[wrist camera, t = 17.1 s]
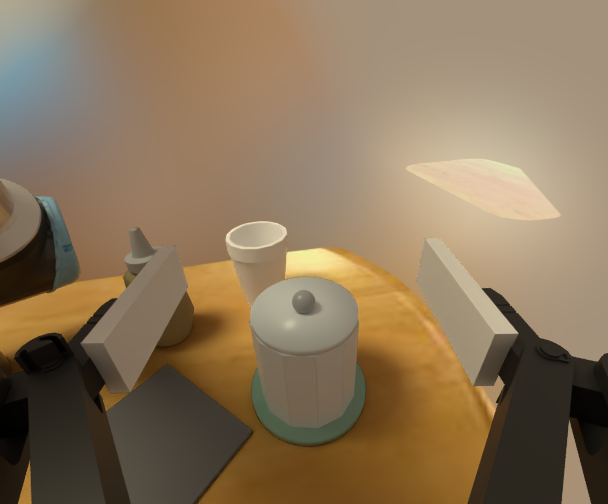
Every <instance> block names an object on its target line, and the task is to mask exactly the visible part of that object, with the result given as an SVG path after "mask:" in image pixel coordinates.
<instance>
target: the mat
mask: <svg viewBox="0 0 608 504" xmlns="http://www.w3.org/2000/svg"><path fill="white" fill-rule="evenodd" d="M106 414H107V417H108V421H109V425H110V428H111V432H112V436H113V439H114V443H115V447H116V450H117V454H118V458H119V461H120V465H121V469H122V472H123V476H124V480H125V483H126V487H127V491H128V495H129V498H130V502H131V504H195V503H196V501H197V500H198V499H199V498H200V497H201V495H202V494H203V493H204V492H205V490H206V489H207V488H208V487H209V485H210V484H211V483H212V482H213V480H214V479H215V478H216V477H217V476H218V474H219V473H220V472H221V471H222V469H223V468H224V467H225V466H226V464H227V463H228V462H229V461H230V460H231V458H232V457H233V456H234V455H235V453H236V452H237V451H238V450H239V448H240V447H241V446H242V445H243V443H244V442H245V441H246V440H247V439H248V437H249V436H250V435H251V434H252V432H253V431H252V429H250V428H249V427H248V426H246V425H245V424H244V423H243V422H241V421H240V420H239V419H237V418H236V417H235V416H234V415H232V414H231V413H230V412H229V411H227V410H226V409H225V408H223V407H222V406H221V405H220V404H218V403H217V402H216V401H214V400H213V399H212V398H211V397H209V396H208V395H207V394H206V393H204V392H203V391H202V390H200V389H199V388H198V387H197V386H195V385H194V384H193V383H191V382H190V381H189V380H188V379H186V378H185V377H184V376H182V375H181V374H180V373H179V372H177V371H176V370H175V369H174V368H172V367H171V366H170V365H168V364H167V365H165V366H164V367H163V368H162V369H160V370H159V371H158V372H156V373H155V374H154V375H153V376H151V377H150V378H149V379H147V380H146V381H145V382H144V383H142V384H141V385H140V386H138V387H137V388H136V389H135V390H133V391H132V392H131V393H129V394H128V395H127V396H126V397H124V398H123V399H122V400H120V401H119V402H118V403H117V404H115V405H114V406H113V407H112V408H110V409H109V410H108V411H106Z"/></svg>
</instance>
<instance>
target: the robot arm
mask: <svg viewBox="0 0 608 504" xmlns="http://www.w3.org/2000/svg"><path fill="white" fill-rule="evenodd" d="M80 274H81V269H80V265H79V262H78V259H77V256H76V253H75V250H74V248H73V246H72V242H71V239H70V236H69V233H68V230H67V228H66V224H65V222H64V220H63V216H62V214H61V211H60V209H59V206H58V204H57V202H56V200H55V199H54V198H52V197H48V196H46V197H41V196H37V197H33V196H32V195H31V193H30V192H28V191H27V190H26V189H25V188H23V187H21V186H19V185H18V184H15V183H13V182H11V181H8V180H4V179H1V178H0V308H1V307H4V306H7V305H10V304H13V303H16V302H19V301H22V300H25V299H28V298H31V297H34V296H37V295H40V294H43V293H51V292H54V291H55V290H56V289H58V288H61V287H63V286H66V285H69V284H71V283H73V282H75V281H76V280H77V279H78V278H79V277H80ZM416 281H417V283H418V285H419V287H420V289H421V291H422V292H423V294H424V296H425V298H426V300H427V302H428V303H429V305H430V307H431V309H432V311H433V313H434V314H435V316H436V318H437V320H438V322H439V324H440V326H441V327H442V329H443V331H444V333H445V335H446V337H447V339H448V340H449V342H450V344H451V346H452V348H453V350H454V352H455V353H456V355H457V357H458V359H459V361H460V363H461V364H462V366H463V368H464V370H465V372H466V374H467V376H468V377H469V379H470V381H471V383H472V385H473V386H494V384H495V382H496V379H497V377H498V375H499V376H500V378H501V379H502V381H503V382H504V384H505V385H504V387H503V389H502V391H501V393H500V395H499V397H498V399H497V401H496V403H498V405H497V408H496V412H495V415H494V418H493V421H492V425H491V428H490V431H489V435H488V438H487V441H486V444H485V448H484V451H483V454H482V458H481V461H480V464H479V468H478V471H477V474H476V477H475V481H474V484H473V487H472V491H471V494H470V497H469V500H468V504H561V501H562V491H563V479H564V468H565V458H566V447H567V436H568V424H569V420H570V423H571V427H572V431H573V435H574V439H575V442H576V447H577V451H578V454H579V458H580V462H581V466H582V470H583V474H584V478H585V481H586V485H587V489H588V493H589V497H590V501H591V504H608V353H607V354H604V355H603V356H602V357H601V358H600V360H599V361H598V362H596V361H591V360H586V359H582V358H576V357H573V356H571V355H570V354H569V352H568V351H567V350H565V349H564V348H563V347H561V346H560V345H558V344H556V343H554V342H551V341H549V340H545V339H541V338H539V337H538V335H537V334H536V333H535V332H534V331H533V330H532V329H531V328H530V326H528V324H527V323H526V322H525V321H524V320H523V319H522V317H521V316H520V315H519V314H518V313H516V311H515V310H514V308H512V306H510V304H509V303H508V302H507V301H506V300H505V298H504V297H503V296H502V295H500V294H499V293H497V292H495V291H494V290H493V289H491V288H480V287H479V285H478V284H477V283H476V281H475V280H474V279H473V278H472V277H471V275H470V274H469V273H468V272H467V271H466V269H465V268H464V267H463V266H462V265H461V263H460V262H459V261H458V260H457V258H456V257H455V256H454V255H453V254H452V252H451V251H450V250H449V249H448V248H447V247H446V245H445V244H444V243H443V242H442V240H441V239H440V238H425V240H424V245H423V251H422V255H421V260H420V265H419V270H418V275H417V280H416ZM187 288H188V285H187V281H186V278H185V275H184V271H183V268H182V264H181V262H180V258H179V255H178V251H177V248H176V246H161V247H160V248H159V250H158V251H157V252H156V253H155V254H154V256H153V257H152V258H151V259H150V260H149V262H148V263H147V264H146V265H145V266H144V268H143V269H142V270H141V271H140V273H139V274H138V275H137V276H136V277H135V279H134V280H133V281H132V282H131V283H130V285H129V286H128V287H127V288H126V289H125V291H124V292H123V293H122V294H121V295H120V297H119V298H113V299H111V300H109V301H108V302H106V303H105V304H103V305H102V306H101V307H100V308H99V309H98V310H97V311H96V312H95V313H94V315H93V317H91V318H90V319H89V320H88V321H87V324H85V325H84V326H83V327H82V328H81V329H80V331H79V332H78V333H77V334H76V335H75V336H74V337H73V339H72V340H71V341H70V342H69V343H68V344H67V342H66V341H65V339H64V337H63V336H62V335H61V334H59V333H48V334H45V335H41V336H38V337H36V338H34V339H32V340H30V341H29V342H27V343H26V344H25V345H23V346H22V347H21V348H20V349H19V350H18V351H17V352H16V354H15V357H14V359H15V360H16V362H17V363H18V364H19V365H20V367H21V368H22V369H23V370H24V371H22V372H18V373H14V374H11V365H10V362H9V361H8V360H7V359H6V357H5V356H4V355H3V354H2V353H1V351H0V504H18V501H19V497H20V494H21V490H22V486H23V483H24V479H25V475H26V472H27V468H28V465H29V461H30V469H31V498H32V504H131V502H130V498H129V495H128V491H127V487H126V483H125V480H124V476H123V472H122V469H121V465H120V461H119V458H118V454H117V450H116V447H115V443H114V439H113V436H112V432H111V428H110V425H109V421H108V417H107V414H106V410H105V406H104V403H103V399H102V397H101V395H100V394H99V392H100V390H101V389H102V387H103V386H104V384H106V386H107V388H108V389H109V391H110V393H130V392H131V391H132V389H133V387H134V385H135V383H136V381H137V380H138V378H139V376H140V374H141V372H142V370H143V369H144V367H145V365H146V363H147V361H148V359H149V358H150V356H151V354H152V352H153V350H154V348H155V347H156V345H157V343H158V341H159V339H160V337H161V336H162V334H163V332H164V330H165V328H166V326H167V325H168V323H169V321H170V319H171V317H172V315H173V314H174V312H175V310H176V308H177V306H178V304H179V303H180V301H181V299H182V297H183V295H184V293H185V292H186V290H187Z"/></svg>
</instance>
